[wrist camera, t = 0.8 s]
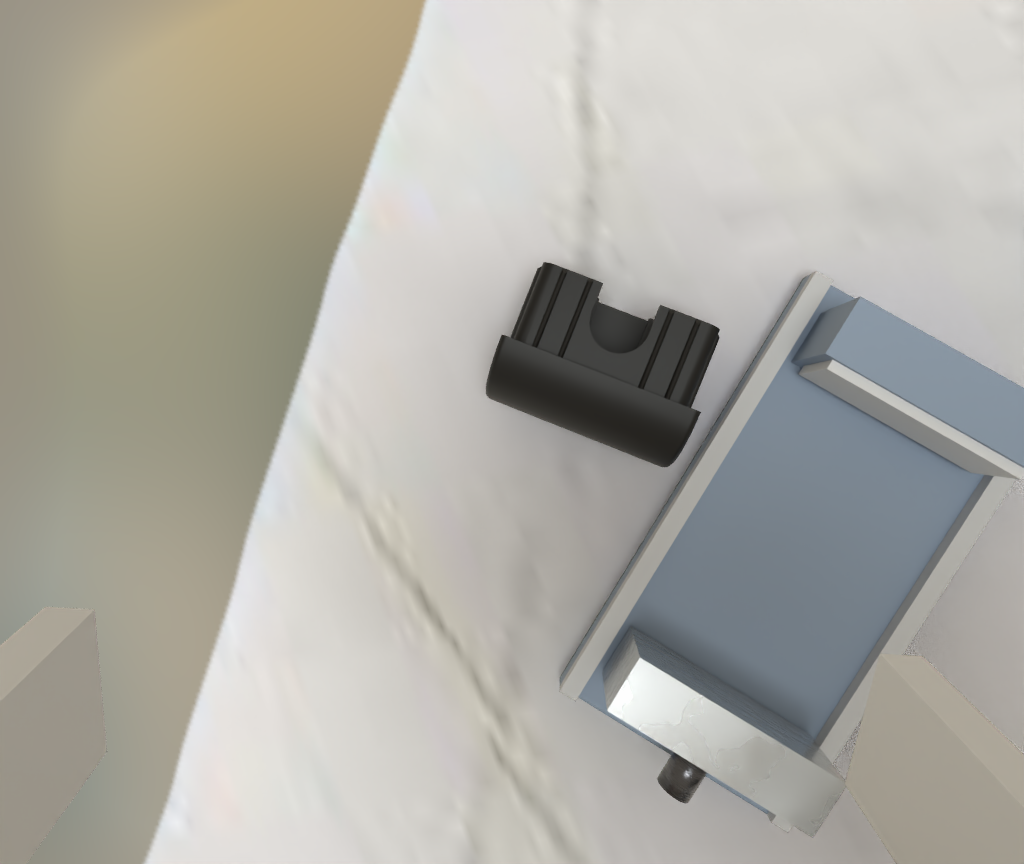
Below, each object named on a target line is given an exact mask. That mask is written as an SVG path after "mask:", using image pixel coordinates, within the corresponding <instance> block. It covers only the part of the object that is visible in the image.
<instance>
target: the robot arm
mask: <svg viewBox="0 0 1024 864" xmlns="http://www.w3.org/2000/svg"><path fill="white" fill-rule="evenodd" d="M106 753H107V745H106V733H105V721H104V711H103V699H102V687H101V676H100V665H99V653H98V642H97V630H96V618H95V610H94V609H77V608H76V609H75V608H59V607H58V608H57V607H44V608H43V609H42V610H41V611H40V612H39V613H37V614H36V615H35V616H34V617H33V618H32V619H30V620H29V621H28V622H27V623H26V624H25V625H24V626H23V627H21V628H20V629H19V630H18V631H16V632H15V633H14V634H13V635H12V636H11V637H10V638H8V639H7V640H6V641H5V642H4V643H3V644H1V645H0V864H26V863H27V862H28V861H29V859H30V858H31V856H32V855H33V854H34V852H35V851H36V850H37V848H38V847H39V845H40V844H41V843H42V841H43V840H44V839H45V837H46V836H47V834H48V833H49V832H50V830H51V828H52V827H53V826H54V825H55V823H56V822H57V820H58V819H59V818H60V816H61V815H62V814H63V812H64V811H65V809H66V808H67V807H68V805H69V804H70V802H71V801H72V800H73V798H74V797H75V796H76V794H77V792H78V791H79V790H80V789H81V787H82V786H83V784H84V783H85V782H86V780H87V779H88V777H89V776H90V775H91V773H92V772H93V771H94V769H95V768H96V766H97V765H98V764H99V762H100V761H101V760H102V758H103V757H104V755H105V754H106ZM845 786H846V787H847V789H848V790H849V792H850V793H851V795H852V796H853V798H854V799H855V801H856V802H857V804H858V806H859V807H860V809H861V810H862V812H863V813H864V815H865V816H866V818H867V819H868V821H869V822H870V824H871V825H872V827H873V829H874V830H875V832H876V833H877V835H878V836H879V838H880V839H881V841H882V842H883V844H884V845H885V847H886V848H887V850H888V852H889V853H890V855H891V856H892V858H893V859H894V861H895V862H896V864H1024V754H1023V753H1022V752H1021V751H1020V750H1019V749H1018V748H1017V747H1016V746H1014V745H1013V744H1012V743H1011V742H1010V741H1009V740H1008V739H1007V738H1006V737H1005V736H1004V735H1003V734H1002V733H1001V732H1000V731H999V730H998V729H997V728H996V727H995V726H994V725H993V724H992V723H991V722H990V721H989V720H988V719H987V718H986V717H985V716H984V715H983V714H982V713H980V712H979V711H978V710H977V709H976V708H975V707H974V706H973V705H972V704H971V703H970V702H969V701H968V700H967V699H966V698H965V697H964V696H963V695H962V694H961V693H960V692H959V691H958V690H957V689H956V688H955V687H954V686H953V685H952V684H951V683H950V682H949V681H948V680H946V679H945V678H944V677H943V676H942V675H941V674H940V673H939V672H938V671H937V670H936V669H935V668H934V667H933V666H932V665H931V664H930V663H929V662H928V661H927V660H926V659H925V658H924V657H923V656H912V655H894V654H880V655H879V659H878V662H877V666H876V670H875V674H874V677H873V681H872V685H871V688H870V692H869V696H868V700H867V703H866V707H865V711H864V714H863V718H862V722H861V725H860V729H859V733H858V737H857V740H856V744H855V748H854V751H853V755H852V759H851V762H850V766H849V770H848V774H847V777H846V781H845Z"/></svg>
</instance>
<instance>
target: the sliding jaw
mask: <svg viewBox="0 0 1024 864" xmlns="http://www.w3.org/2000/svg"><path fill="white" fill-rule="evenodd" d="M602 675H603V683H604V691H605V699H606V706H607V711H608V712H610V713H611V714H613V715H615V716H616V717H618V718H620V719H621V720H623V721H624V722H626V723H628V724H629V725H631V726H633V727H634V728H636V729H637V730H639V731H641V732H642V733H644V734H645V735H647V736H649V737H650V738H652V739H654V740H655V741H657V742H658V743H660V744H662V745H663V746H665V747H667V748H668V749H670V750H671V751H673V754H672V755H671V757H670V759H669V760H668V762H667V763H666V765H665V767H664V768H663V770H662V771H661V773H660V774H659V776H658V782H659V784H660V785H661V786H662V788H663V789H664V790H665V791H666V792H667V793H668V794H669V795H671V796H672V797H673V798H675V799H676V800H678V801H680V802H683V803H688V802H689V801H690V799H691V798H692V796H693V794H694V793H695V791H696V790H697V788H698V787H699V785H700V783H701V782H702V780H703V779H704V777H705V775H706V774H707V773H709V774H710V775H712V776H713V777H715V778H717V779H718V780H720V781H722V782H723V783H725V784H726V785H728V786H730V787H731V788H733V789H735V790H736V791H738V792H739V793H741V794H743V795H744V796H746V797H747V798H749V799H751V800H752V801H754V802H756V803H757V804H759V805H760V806H762V807H764V808H765V809H767V810H769V811H770V812H772V813H773V814H775V815H777V816H778V817H780V818H782V819H783V820H785V821H786V822H788V823H790V824H791V825H793V826H794V827H796V828H798V829H799V830H801V831H803V832H804V833H806V834H807V835H809V836H811V837H812V838H813V837H814V836H815V834H816V833H817V831H818V830H819V828H820V826H821V825H822V823H823V822H824V820H825V819H826V817H827V816H828V814H829V813H830V811H831V809H832V808H833V806H834V805H835V803H836V802H837V800H838V799H839V797H840V796H841V794H842V792H843V791H844V789H845V788H846V786H845V780H844V778H843V777H842V776H841V775H840V773H839V772H838V771H837V769H836V768H835V767H834V765H833V764H832V763H831V761H830V760H829V759H828V757H827V756H826V755H825V753H824V752H823V751H822V749H821V748H820V747H819V745H818V744H817V743H816V741H815V740H814V739H813V738H812V736H811V735H810V734H809V733H807V732H805V731H804V730H802V729H800V728H799V727H797V726H795V725H794V724H792V723H790V722H789V721H787V720H785V719H784V718H782V717H781V716H779V715H777V714H776V713H774V712H772V711H771V710H769V709H767V708H766V707H764V706H762V705H761V704H759V703H757V702H756V701H754V700H753V699H751V698H749V697H748V696H746V695H744V694H743V693H741V692H739V691H738V690H736V689H734V688H733V687H731V686H729V685H728V684H726V683H725V682H723V681H721V680H720V679H718V678H716V677H715V676H713V675H711V674H710V673H708V672H706V671H705V670H703V669H701V668H700V667H698V666H697V665H695V664H693V663H692V662H690V661H688V660H687V659H685V658H683V657H682V656H680V655H678V654H677V653H675V652H674V651H672V650H670V649H669V648H667V647H665V646H664V645H662V644H660V643H659V642H657V641H655V640H654V639H652V638H650V637H649V636H647V635H646V634H644V633H642V632H641V631H639V630H637V629H636V628H634V627H632V626H630V627H629V629H628V631H627V632H626V634H625V636H624V637H623V639H622V640H621V642H620V644H619V645H618V647H617V649H616V650H615V652H614V653H613V655H612V657H611V658H610V660H609V662H608V663H607V665H606V666H605V668H604V670H603V671H602Z"/></svg>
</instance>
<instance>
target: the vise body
mask: <svg viewBox="0 0 1024 864" xmlns="http://www.w3.org/2000/svg"><path fill="white" fill-rule="evenodd" d="M833 281H834V280H832V279H830V278H828V277H826V276H825V275H823V274H821V273H819V272H817V271H816V272H814V273H812V274H810V275H809V276H807V277H805V278H804V279H803V280H802V282H801V284H800V285H799V287H798V288H797V290H796V292H795V293H794V295H793V297H792V298H791V300H790V302H789V303H788V305H787V306H786V308H785V310H784V311H783V313H782V315H781V316H780V318H779V320H778V321H777V323H776V325H775V326H774V328H773V329H772V331H771V333H770V334H769V336H768V338H767V339H766V341H765V343H764V344H763V346H762V347H761V349H760V351H759V352H758V354H757V356H756V357H755V359H754V361H753V362H752V364H751V365H750V367H749V369H748V370H747V372H746V374H745V375H744V377H743V379H742V380H741V382H740V384H739V385H738V387H737V388H736V390H735V392H734V393H733V395H732V397H731V398H730V400H729V402H728V403H727V405H726V406H725V408H724V410H723V411H722V413H721V415H720V416H719V418H718V420H717V421H716V423H715V424H714V426H713V428H712V429H711V431H710V433H709V434H708V436H707V438H706V439H705V441H704V443H703V444H702V446H701V447H700V449H699V451H698V452H697V454H696V456H695V457H694V459H693V461H692V462H691V464H690V465H689V467H688V469H687V470H686V472H685V474H684V475H683V477H682V479H681V480H680V482H679V484H678V485H677V487H676V488H675V490H674V492H673V493H672V495H671V497H670V498H669V500H668V502H667V503H666V505H665V506H664V508H663V510H662V511H661V513H660V515H659V516H658V518H657V520H656V521H655V523H654V524H653V526H652V528H651V529H650V531H649V533H648V534H647V536H646V538H645V539H644V541H643V543H642V544H641V546H640V547H639V549H638V551H637V552H636V554H635V556H634V557H633V559H632V561H631V562H630V564H629V565H628V567H627V569H626V570H625V572H624V574H623V575H622V577H621V579H620V580H619V582H618V583H617V585H616V587H615V588H614V590H613V592H612V593H611V595H610V597H609V598H608V600H607V602H606V603H605V605H604V606H603V608H602V610H601V611H600V613H599V615H598V616H597V618H596V620H595V621H594V623H593V624H592V626H591V628H590V629H589V631H588V633H587V634H586V636H585V638H584V639H583V641H582V642H581V644H580V646H579V647H578V649H577V651H576V652H575V654H574V656H573V657H572V659H571V661H570V662H569V664H568V665H567V667H566V669H565V670H564V672H563V674H562V675H561V677H560V691H559V692H561V693H562V694H564V695H566V696H567V697H569V698H571V699H572V700H574V701H576V700H577V698H580V699H582V700H583V701H585V702H587V703H588V704H590V705H591V706H593V707H595V708H596V709H598V710H599V711H601V712H603V713H604V714H606V715H608V716H609V717H611V718H612V719H614V720H616V721H617V722H619V723H621V724H622V725H624V726H625V727H627V728H629V729H630V730H632V731H633V732H635V733H637V734H638V735H640V736H642V737H643V738H645V739H646V740H648V741H650V742H651V743H653V744H655V745H656V746H658V747H659V748H661V749H663V750H664V751H666V752H667V753H669V754H671V755H672V754H673V751H671V750H670V749H668V748H667V747H665V746H663V745H662V744H660V743H658V742H657V741H655V740H654V739H652V738H650V737H649V736H647V735H645V734H644V733H642V732H641V731H639V730H637V729H636V728H634V727H633V726H631V725H629V724H628V723H626V722H624V721H623V720H621V719H620V718H618V717H616V716H615V715H613V714H611V713H610V712H608V711H607V706H606V699H605V691H604V683H603V675H602V671H603V670H604V668H605V666H606V665H607V663H608V662H609V660H610V658H611V657H612V655H613V653H614V652H615V650H616V649H617V647H618V645H619V644H620V642H621V640H622V639H623V637H624V636H625V634H626V632H627V631H628V629H629V627H630V626H632V627H634V628H636V629H637V630H639V631H641V632H642V633H644V634H646V635H647V636H649V637H650V638H652V639H654V640H655V641H657V642H659V643H660V644H662V645H664V646H665V647H667V648H669V649H670V650H672V651H674V652H675V653H677V654H678V655H680V656H682V657H683V658H685V659H687V660H688V661H690V662H692V663H693V664H695V665H697V666H698V667H700V668H701V669H703V670H705V671H706V672H708V673H710V674H711V675H713V676H715V677H716V678H718V679H720V680H721V681H723V682H725V683H726V684H728V685H729V686H731V687H733V688H734V689H736V690H738V691H739V692H741V693H743V694H744V695H746V696H748V697H749V698H751V699H753V700H754V701H756V702H757V703H759V704H761V705H762V706H764V707H766V708H767V709H769V710H771V711H772V712H774V713H776V714H777V715H779V716H781V717H782V718H784V719H785V720H787V721H789V722H790V723H792V724H794V725H795V726H797V727H799V728H800V729H802V730H804V731H805V732H807V733H809V734H810V735H811V736H812V738H813V739H814V740H815V741H816V743H817V744H818V745H819V747H820V748H821V749H822V751H823V752H824V753H825V755H826V756H827V757H828V759H829V760H830V761H831V763H832V764H833V763H834V761H835V760H836V758H837V756H838V755H839V753H840V752H841V750H842V749H843V747H844V746H845V744H846V743H847V741H848V739H849V738H850V736H851V735H852V733H853V732H854V730H855V729H856V727H857V725H858V724H859V722H860V721H861V719H862V718H863V714H864V711H865V707H866V703H867V700H868V696H869V692H870V688H871V685H872V681H873V677H874V674H875V670H876V666H877V662H878V659H879V655H880V654H894V655H903V654H904V653H905V651H906V649H907V648H908V646H909V645H910V643H911V642H912V640H913V639H914V637H915V635H916V634H917V632H918V631H919V629H920V628H921V626H922V625H923V623H924V621H925V620H926V618H927V617H928V615H929V614H930V612H931V611H932V609H933V608H934V606H935V604H936V603H937V601H938V600H939V598H940V597H941V595H942V594H943V592H944V590H945V589H946V587H947V586H948V584H949V583H950V581H951V580H952V578H953V577H954V575H955V573H956V572H957V570H958V569H959V567H960V566H961V564H962V563H963V561H964V559H965V558H966V556H967V555H968V553H969V552H970V550H971V549H972V547H973V545H974V544H975V542H976V541H977V539H978V538H979V536H980V535H981V533H982V532H983V530H984V528H985V527H986V525H987V524H988V522H989V521H990V519H991V518H992V516H993V514H994V513H995V511H996V510H997V508H998V507H999V505H1000V504H1001V502H1002V500H1003V499H1004V497H1005V496H1006V494H1007V493H1008V491H1009V490H1010V488H1011V487H1012V485H1013V483H1014V482H1015V480H1016V479H1019V480H1022V478H1023V477H1024V388H1023V387H1021V386H1019V385H1017V384H1016V383H1014V382H1012V381H1010V380H1008V379H1007V378H1005V377H1003V376H1001V375H1000V374H998V373H996V372H994V371H992V370H991V369H989V368H987V367H985V366H983V365H982V364H980V363H978V362H976V361H975V360H973V359H971V358H969V357H967V356H966V355H964V354H962V353H960V352H959V351H957V350H955V349H953V348H951V347H950V346H948V345H946V344H944V343H942V342H941V341H939V340H937V339H935V338H934V337H932V336H930V335H928V334H926V333H925V332H923V331H921V330H919V329H918V328H916V327H914V326H912V325H910V324H909V323H907V322H905V321H903V320H901V319H900V318H898V317H896V316H894V315H893V314H891V313H889V312H887V311H885V310H884V309H882V308H880V307H878V306H877V305H875V304H873V303H871V302H869V301H868V300H866V299H864V298H862V297H858V298H856V299H855V298H853V297H851V296H849V295H847V294H846V293H844V292H842V291H840V290H839V289H837V288H835V287H833V286H831V284H832V282H833ZM705 776H706V777H708V778H710V779H711V780H713V781H714V782H716V783H718V784H719V785H721V786H722V787H724V788H726V789H727V790H729V791H731V792H732V793H734V794H735V795H737V796H739V797H740V798H742V799H744V800H745V801H747V802H748V803H750V804H752V805H753V806H755V807H756V808H758V809H760V810H761V811H763V812H765V813H766V814H767V815H768V817H769V819H770V821H771V823H773V824H774V825H776V826H778V827H779V828H781V829H782V830H784V831H786V832H787V833H788V832H789V831H790V829H791V828H792V826H793V825H791V824H790V823H788V822H786V821H785V820H783V819H782V818H780V817H778V816H777V815H775V814H773V813H772V812H770V811H769V810H767V809H765V808H764V807H762V806H760V805H759V804H757V803H756V802H754V801H752V800H751V799H749V798H747V797H746V796H744V795H743V794H741V793H739V792H738V791H736V790H735V789H733V788H731V787H730V786H728V785H726V784H725V783H723V782H722V781H720V780H718V779H717V778H715V777H713V776H712V775H710V774H709V773H707V774H706V775H705Z"/></svg>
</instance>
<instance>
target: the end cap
mask: <svg viewBox="0 0 1024 864" xmlns="http://www.w3.org/2000/svg"><path fill="white" fill-rule="evenodd" d="M602 285H603V283H601V282H599V281H596V280H594V279H591V278H588V277H586V276H583V275H580V274H578V273H575V272H573V271H570V270H567V269H565V268H562V267H559V266H557V265H554V264H551V263H546V262H544V263H543V265H542V267H540V268H538V269H537V271H536V274H535V277H534V279H533V282H532V284H531V287H530V289H529V292H528V294H527V297H526V299H525V302H524V304H523V307H522V310H521V312H520V315H519V317H518V320H517V322H516V325H515V327H514V330H513V332H512V335H511V337H507V336H505V335H501V338H500V341H499V343H498V346H497V349H496V352H495V355H494V358H493V361H492V364H491V367H490V371H489V375H488V379H487V384H486V394H487V396H488V397H489V398H490V399H492V400H495V401H497V402H500V403H502V404H505V405H507V406H510V407H512V408H515V409H518V410H520V411H523V412H525V413H528V414H530V415H533V416H535V417H538V418H540V419H543V420H545V421H548V422H550V423H553V424H555V425H558V426H560V427H563V428H565V429H568V430H570V431H573V432H575V433H578V434H580V435H583V436H585V437H588V438H590V439H593V440H595V441H598V442H600V443H603V444H605V445H608V446H610V447H613V448H616V449H618V450H621V451H623V452H626V453H628V454H631V455H633V456H636V457H638V458H641V459H643V460H646V461H648V462H651V463H653V464H656V465H658V466H661V467H668V466H670V465H671V464H672V463H673V462H674V461H675V460H676V459H677V457H678V456H679V454H680V453H681V451H682V449H683V448H684V446H685V444H686V442H687V440H688V438H689V437H690V435H691V433H692V430H693V428H694V426H695V424H696V422H697V420H698V417H699V415H700V413H701V412H699V411H697V410H694V409H692V408H691V406H692V404H693V401H694V399H695V396H696V394H697V392H698V389H699V387H700V384H701V382H702V379H703V377H704V375H705V372H706V370H707V367H708V365H709V362H710V360H711V357H712V355H713V353H714V350H715V348H716V345H717V343H718V340H719V335H718V332H719V330H720V329H719V328H717V327H716V326H714V325H711V324H709V323H706V322H704V321H701V320H698V319H696V318H693V317H691V316H688V315H685V314H683V313H680V312H677V311H675V310H672V309H670V308H667V307H664V306H662V305H660V307H659V309H658V311H657V314H656V316H655V319H654V320H653V319H649V320H648V321H646V320H643V319H641V318H638V317H635V316H633V315H630V314H628V313H625V312H622V311H620V310H617V309H615V308H612V307H609V306H607V305H604V304H601V303H599V302H598V301H599V299H598V295H599V293H600V290H601V288H602Z"/></svg>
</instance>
